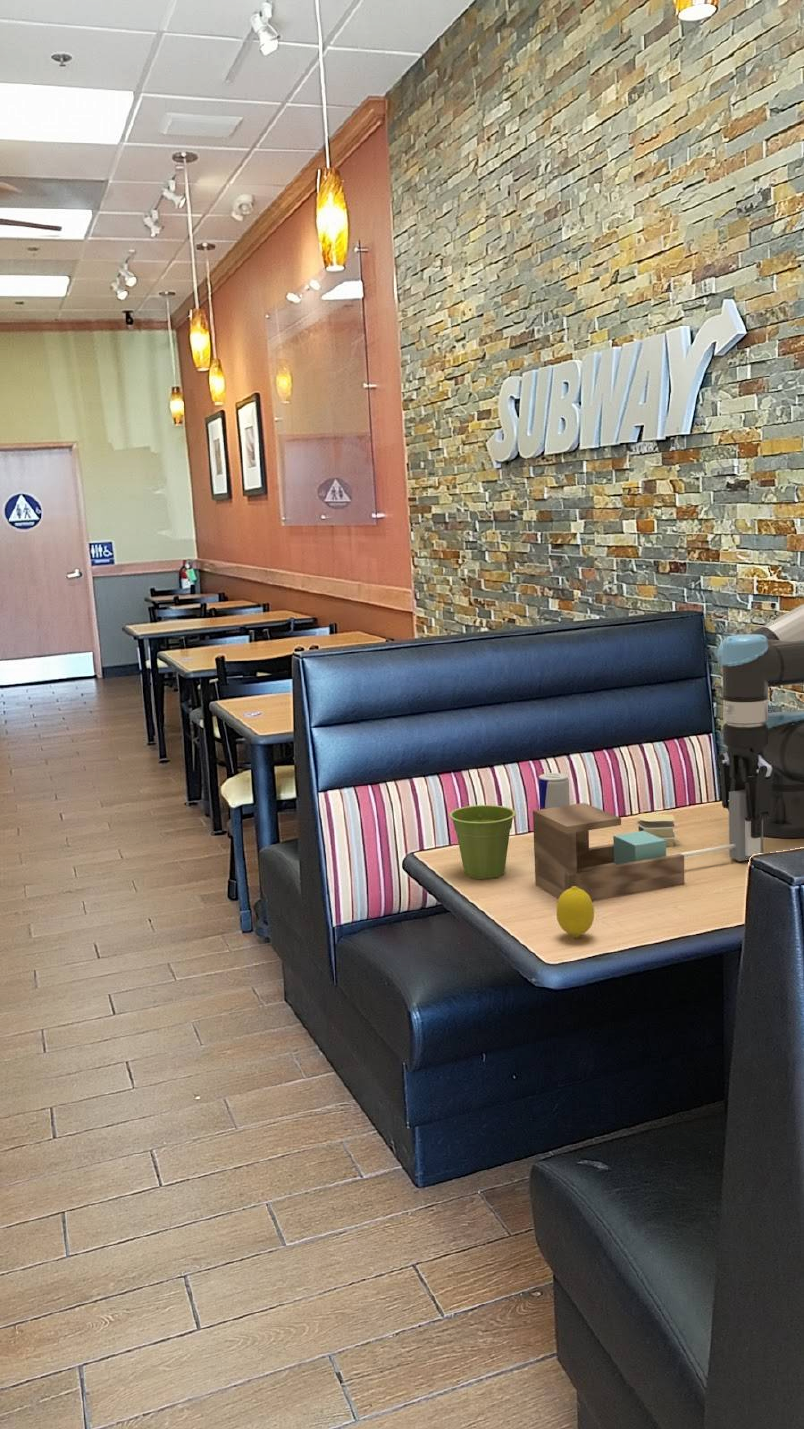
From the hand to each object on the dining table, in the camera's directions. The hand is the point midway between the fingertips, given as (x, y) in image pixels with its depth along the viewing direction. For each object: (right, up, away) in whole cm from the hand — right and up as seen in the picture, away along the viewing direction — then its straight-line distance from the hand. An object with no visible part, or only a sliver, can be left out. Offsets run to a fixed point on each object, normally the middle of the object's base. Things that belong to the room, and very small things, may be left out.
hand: (746, 851), depth 197 cm
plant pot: (-47, -4, +1) cm, 47 cm away
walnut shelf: (-26, -4, -9) cm, 28 cm away
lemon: (-36, -9, -32) cm, 49 cm away
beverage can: (-33, -2, +11) cm, 34 cm away
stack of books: (-13, -1, +13) cm, 19 cm away
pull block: (-10, -2, -4) cm, 11 cm away
